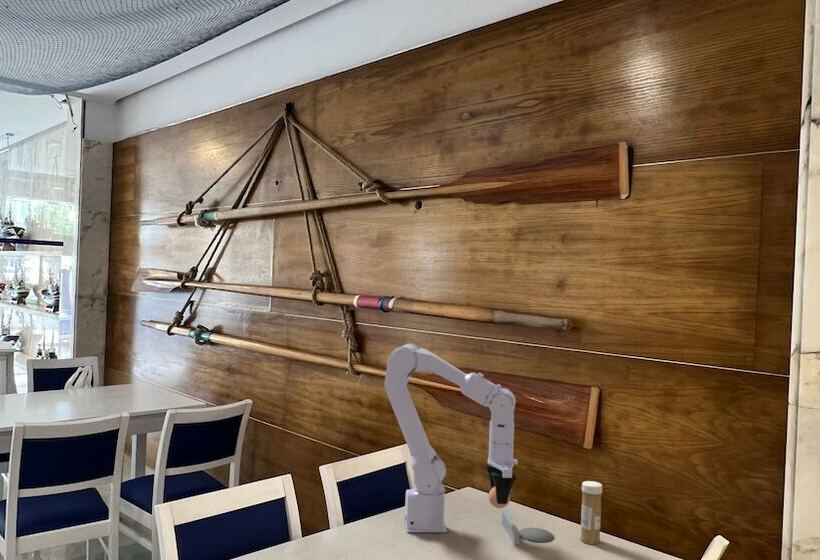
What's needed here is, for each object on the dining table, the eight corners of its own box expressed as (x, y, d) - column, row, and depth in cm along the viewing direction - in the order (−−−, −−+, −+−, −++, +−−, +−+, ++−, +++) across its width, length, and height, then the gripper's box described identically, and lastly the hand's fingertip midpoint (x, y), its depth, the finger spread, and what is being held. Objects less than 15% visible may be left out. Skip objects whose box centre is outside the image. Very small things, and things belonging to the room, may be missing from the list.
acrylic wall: (514, 544, 150) (515, 531, 150) (501, 523, 163) (502, 511, 163) (519, 544, 150) (519, 531, 150) (505, 523, 163) (506, 511, 163)
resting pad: (523, 542, 152) (523, 541, 152) (515, 528, 160) (515, 527, 160) (557, 542, 153) (557, 541, 153) (547, 529, 161) (547, 527, 161)
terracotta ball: (490, 511, 153) (491, 489, 153) (486, 503, 158) (487, 482, 158) (512, 511, 153) (512, 489, 153) (506, 503, 158) (507, 483, 158)
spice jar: (603, 544, 152) (605, 486, 152) (584, 545, 152) (586, 486, 152) (595, 536, 157) (597, 480, 157) (576, 537, 156) (579, 480, 156)
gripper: (526, 449, 148) (524, 510, 148) (510, 434, 163) (508, 489, 163) (495, 449, 148) (493, 510, 148) (482, 433, 162) (480, 489, 162)
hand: (499, 499), depth 155 cm, fingers closed on terracotta ball, 5 cm apart
